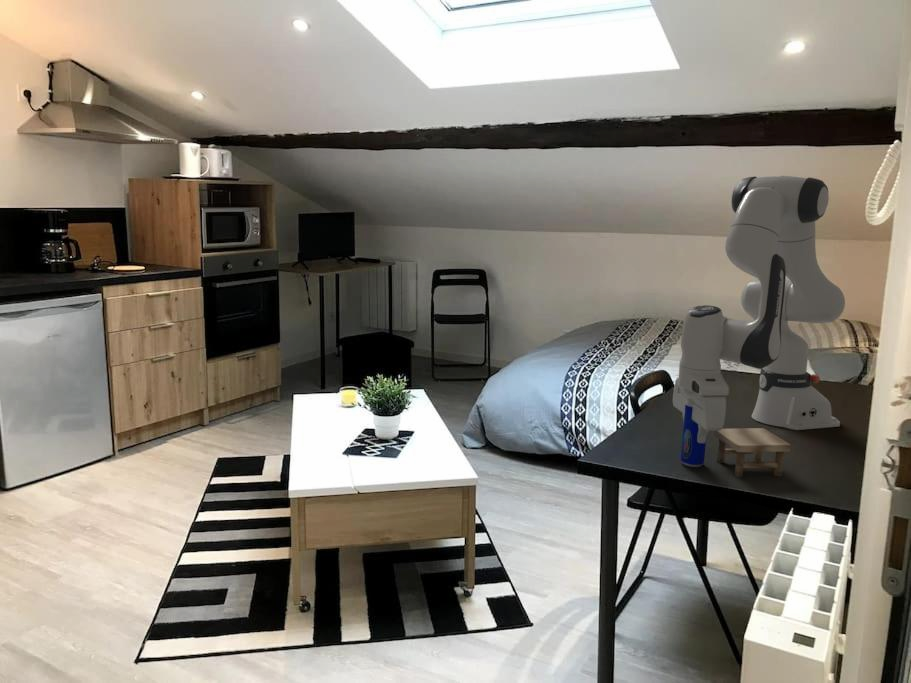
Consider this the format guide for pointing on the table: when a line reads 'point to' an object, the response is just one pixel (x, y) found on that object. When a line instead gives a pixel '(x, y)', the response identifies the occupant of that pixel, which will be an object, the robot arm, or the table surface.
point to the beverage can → (691, 440)
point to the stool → (751, 448)
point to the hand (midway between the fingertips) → (694, 437)
